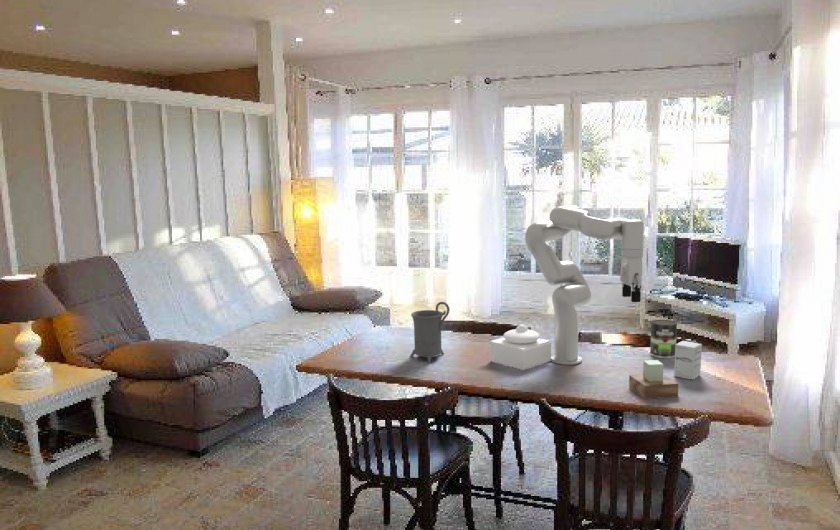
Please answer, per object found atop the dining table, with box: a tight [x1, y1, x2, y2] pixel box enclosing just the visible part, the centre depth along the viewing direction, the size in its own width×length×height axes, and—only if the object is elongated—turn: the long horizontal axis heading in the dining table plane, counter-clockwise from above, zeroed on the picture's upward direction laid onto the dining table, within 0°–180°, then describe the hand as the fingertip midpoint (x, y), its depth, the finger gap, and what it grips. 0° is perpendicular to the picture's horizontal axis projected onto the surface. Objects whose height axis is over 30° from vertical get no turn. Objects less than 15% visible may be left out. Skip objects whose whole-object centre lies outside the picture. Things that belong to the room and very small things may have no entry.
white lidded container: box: [489, 323, 552, 371], centre depth 263 cm, size 18×18×16 cm
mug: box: [410, 301, 450, 364], centre depth 270 cm, size 19×15×25 cm
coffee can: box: [649, 319, 678, 359], centre depth 267 cm, size 10×10×14 cm
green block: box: [642, 359, 664, 381], centre depth 224 cm, size 5×5×6 cm
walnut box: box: [628, 373, 680, 399], centre depth 224 cm, size 12×12×5 cm
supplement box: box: [673, 340, 703, 381], centre depth 239 cm, size 7×7×13 cm
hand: (631, 299), depth 235 cm, fingers open, 9 cm apart
